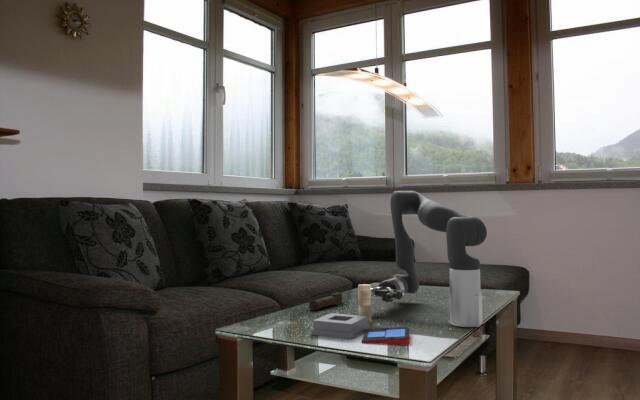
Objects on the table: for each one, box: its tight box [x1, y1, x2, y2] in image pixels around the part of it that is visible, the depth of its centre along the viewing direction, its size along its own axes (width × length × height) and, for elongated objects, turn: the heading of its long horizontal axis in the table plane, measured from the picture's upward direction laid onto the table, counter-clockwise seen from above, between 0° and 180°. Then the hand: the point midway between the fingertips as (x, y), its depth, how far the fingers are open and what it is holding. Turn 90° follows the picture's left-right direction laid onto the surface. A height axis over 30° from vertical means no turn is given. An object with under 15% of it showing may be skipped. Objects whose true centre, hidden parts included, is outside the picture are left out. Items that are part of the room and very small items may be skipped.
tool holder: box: [310, 312, 371, 340], centre depth 154 cm, size 13×13×4 cm
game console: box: [361, 326, 410, 346], centre depth 146 cm, size 14×13×2 cm
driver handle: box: [357, 283, 372, 325], centre depth 165 cm, size 4×4×12 cm
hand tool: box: [308, 291, 343, 312], centre depth 194 cm, size 19×4×5 cm, turn 142°
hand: (375, 296), depth 174 cm, fingers open, 8 cm apart
